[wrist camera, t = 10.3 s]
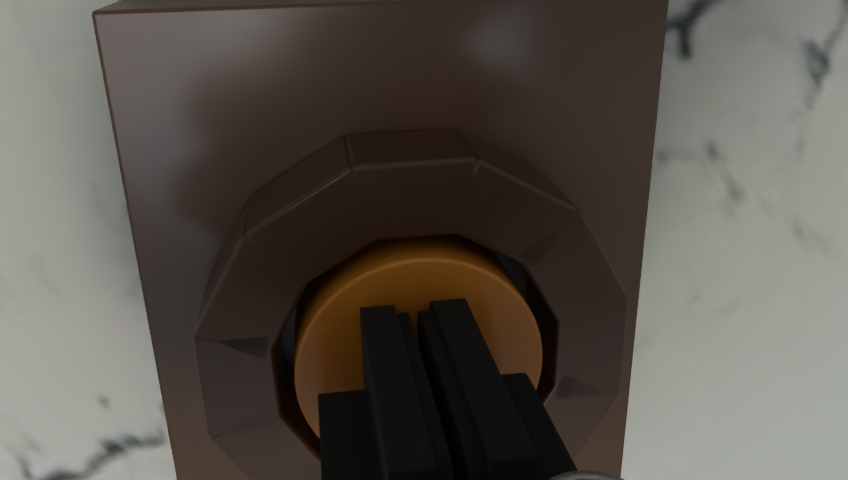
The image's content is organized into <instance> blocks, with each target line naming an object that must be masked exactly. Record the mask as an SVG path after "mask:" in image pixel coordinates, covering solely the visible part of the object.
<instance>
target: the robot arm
mask: <svg viewBox="0 0 848 480" xmlns="http://www.w3.org/2000/svg"><path fill="white" fill-rule="evenodd" d="M360 326H361V343H362V359H363V376H364V389H360V390H350V391H341V392H331V393H321V394H318V411H319V433H320V455H321V478H322V480H624V479H622V478H620V477H617V476H614V475H611V474H607V473H604V472H599V471H588V470H579V471H578V470H577V468H576V466H575V464H574V462H573V460H572V458H571V456H570V454H569V453H568V451H567V449H566V447H565V445H564V443H563V441H562V439H561V437H560V435H559V433H558V432H557V430H556V428H555V426H554V424H553V422H552V420H551V418H550V416H549V414H548V412H547V411H546V409H545V407H544V405H543V403H542V401H541V399H540V397H539V395H538V393H537V391H536V390H535V388H534V386H533V384H532V382H531V380H530V378H529V377H528V375H527V374H526V373H523V372H522V373H512V374H502V375H501V374H500V372H499V370H498V368H497V365H496V363H495V361H494V359H493V357H492V355H491V353H490V350H489V348H488V346H487V344H486V342H485V340H484V337H483V335H482V333H481V331H480V329H479V327H478V324H477V322H476V320H475V318H474V316H473V314H472V311H471V309H470V307H469V305H468V303H467V301H466V299H465V298H461V299H450V300H439V301H431V302H430V307H429V310H427V311H418V343H417V339H416V336H415V333H414V329H413V326H412V322H411V319H410V316H409V313H408V312H405V313H396V309H395V306H394V305H383V306H372V307H361V308H360Z"/></svg>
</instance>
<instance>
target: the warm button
mask: <svg viewBox="0 0 848 480" xmlns="http://www.w3.org/2000/svg"><path fill="white" fill-rule="evenodd" d="M461 298H465V299H466V301H467V303H468V305H469V307H470V309H471V311H472V314H473V316H474V318H475V320H476V322H477V324H478V327H479V329H480V331H481V333H482V335H483V337H484V340H485V342H486V344H487V346H488V348H489V350H490V353H491V355H492V357H493V359H494V361H495V363H496V365H497V368H498V370H499V372H500V374H501V375H502V374H512V373H522V372H523V373H526V374H527V375H528V377H529V378H530V380H531V382H532V384H533V386H534V388H535V390H537V386H538V383H539V379H540V375H541V369H542V360H543V355H542V341H541V335H540V331H539V328H538V325H537V322H536V319H535V317H534V315H533V313H532V311H531V309H530V308H529V306H528V304H527V302H526V301H525V299H524V297H523V296H522V294H521V293H520V291H519V289H518V288H517V286H516V284H515V283H514V281H513V279H512V278H511V276H510V274H509V273H508V271H507V270H506V268H505V266H504V265H503V263H502V262H501V261H500V259H499V258H498V256H497V255H496V254H495V253H494V252H493V251H492V250H490V249H488V248H486V247H484V246H481V245H479V244H477V243H475V242H473V241H471V240H469V239H466V238H464V237H462V236H460V235H458V234H445V235H432V236H419V237H406V238H393V239H379V240H375V241H374V242H372V243H370V244H369V245H367V246H366V247H364V248H362V249H361V250H359V251H358V252H356V253H355V254H353V255H351V256H350V257H348V258H347V259H345V260H343V261H342V262H340V263H339V264H337V265H335V266H334V267H332V268H331V269H329V270H327V271H326V272H324V273H323V274H321V275H319V276H318V277H316V278H315V279H313V280H311V281H310V282H308V284H307V286H306V288H305V290H304V292H303V294H302V296H301V298H300V299H299V301H298V303H297V307H296V314H295V332H294V385H295V391H296V396H297V400H298V403H299V406H300V409H301V411H302V413H303V415H304V417H305V419H306V421H307V423H308V424H309V426H310V427H311V428H312V430H313V431H314V432H315V434H316V435H317V436H318V437H319V438H320V433H319V411H318V394H321V393H331V392H341V391H350V390H360V389H364V376H363V359H362V343H361V326H360V308H361V307H372V306H383V305H394V306H395V309H396V313H405V312H408V313H409V316H410V319H411V322H412V326H413V329H414V333H415V336H416V339H417V343H418V311H427V310H429V307H430V302H431V301H439V300H450V299H461Z"/></svg>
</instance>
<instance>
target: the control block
mask: <svg viewBox="0 0 848 480" xmlns="http://www.w3.org/2000/svg"><path fill="white" fill-rule="evenodd" d="M668 1H669V0H121V1H118V2H115V3H113V4H110V5H108V6H105V7H103V8H100V9H98V10H95V11H93V12H92V19H93V24H94V30H95V35H96V41H97V46H98V51H99V57H100V62H101V68H102V73H103V79H104V84H105V90H106V95H107V100H108V106H109V111H110V117H111V122H112V128H113V133H114V139H115V144H116V149H117V155H118V160H119V166H120V171H121V177H122V182H123V188H124V193H125V198H126V204H127V209H128V215H129V220H130V226H131V231H132V237H133V242H134V248H135V253H136V258H137V264H138V269H139V275H140V280H141V286H142V291H143V297H144V302H145V307H146V313H147V318H148V324H149V329H150V335H151V340H152V346H153V351H154V356H155V362H156V367H157V373H158V378H159V384H160V389H161V395H162V400H163V405H164V411H165V416H166V422H167V427H168V433H169V438H170V444H171V449H172V454H173V460H174V465H175V471H176V476H177V480H322V478H321V455H320V438H319V437H318V436H317V435H316V434H315V432H314V431H313V430H312V428H311V427H310V426H309V424H308V423H307V421H306V419H305V417H304V415H303V413H302V411H301V409H300V406H299V403H298V400H297V396H296V391H295V385H294V332H295V314H296V307H297V303H298V301H299V299H300V298H301V296H302V294H303V292H304V290H305V288H306V286H307V284H308V282H310V281H311V280H313V279H315V278H316V277H318V276H319V275H321V274H323V273H324V272H326V271H327V270H329V269H331V268H332V267H334V266H335V265H337V264H339V263H340V262H342V261H343V260H345V259H347V258H348V257H350V256H351V255H353V254H355V253H356V252H358V251H359V250H361V249H362V248H364V247H366V246H367V245H369V244H370V243H372V242H374V241H375V240H379V239H393V238H406V237H419V236H432V235H445V234H458V235H460V236H462V237H464V238H466V239H469V240H471V241H473V242H475V243H477V244H479V245H481V246H484V247H486V248H488V249H490V250H492V251H493V252H494V253H495V254H496V255H497V256H498V258H499V259H500V261H501V262H502V263H503V265H504V266H505V268H506V270H507V271H508V273H509V274H510V276H511V278H512V279H513V281H514V283H515V284H516V286H517V288H518V289H519V291H520V293H521V294H522V296H523V297H524V299H525V301H526V302H527V304H528V306H529V308H530V309H531V311H532V313H533V315H534V317H535V319H536V322H537V325H538V328H539V331H540V335H541V341H542V355H543V360H542V369H541V375H540V379H539V383H538V386H537V390H536V391H537V393H538V395H539V397H540V399H541V401H542V403H543V405H544V407H545V409H546V411H547V412H548V414H549V416H550V418H551V420H552V422H553V424H554V426H555V428H556V430H557V432H558V433H559V435H560V437H561V439H562V441H563V443H564V445H565V447H566V449H567V451H568V453H569V454H570V456H571V458H572V460H573V462H574V464H575V466H576V468H577V470H578V471H579V470H588V471H599V472H604V473H607V474H611V475H614V476H617V477H620V476H621V466H622V456H623V446H624V436H625V426H626V416H627V406H628V397H629V387H630V377H631V367H632V357H633V347H634V337H635V327H636V317H637V307H638V298H639V288H640V278H641V268H642V258H643V248H644V238H645V228H646V218H647V209H648V199H649V189H650V179H651V169H652V159H653V149H654V139H655V129H656V119H657V110H658V100H659V90H660V80H661V70H662V60H663V50H664V40H665V30H666V21H667V11H668Z"/></svg>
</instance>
